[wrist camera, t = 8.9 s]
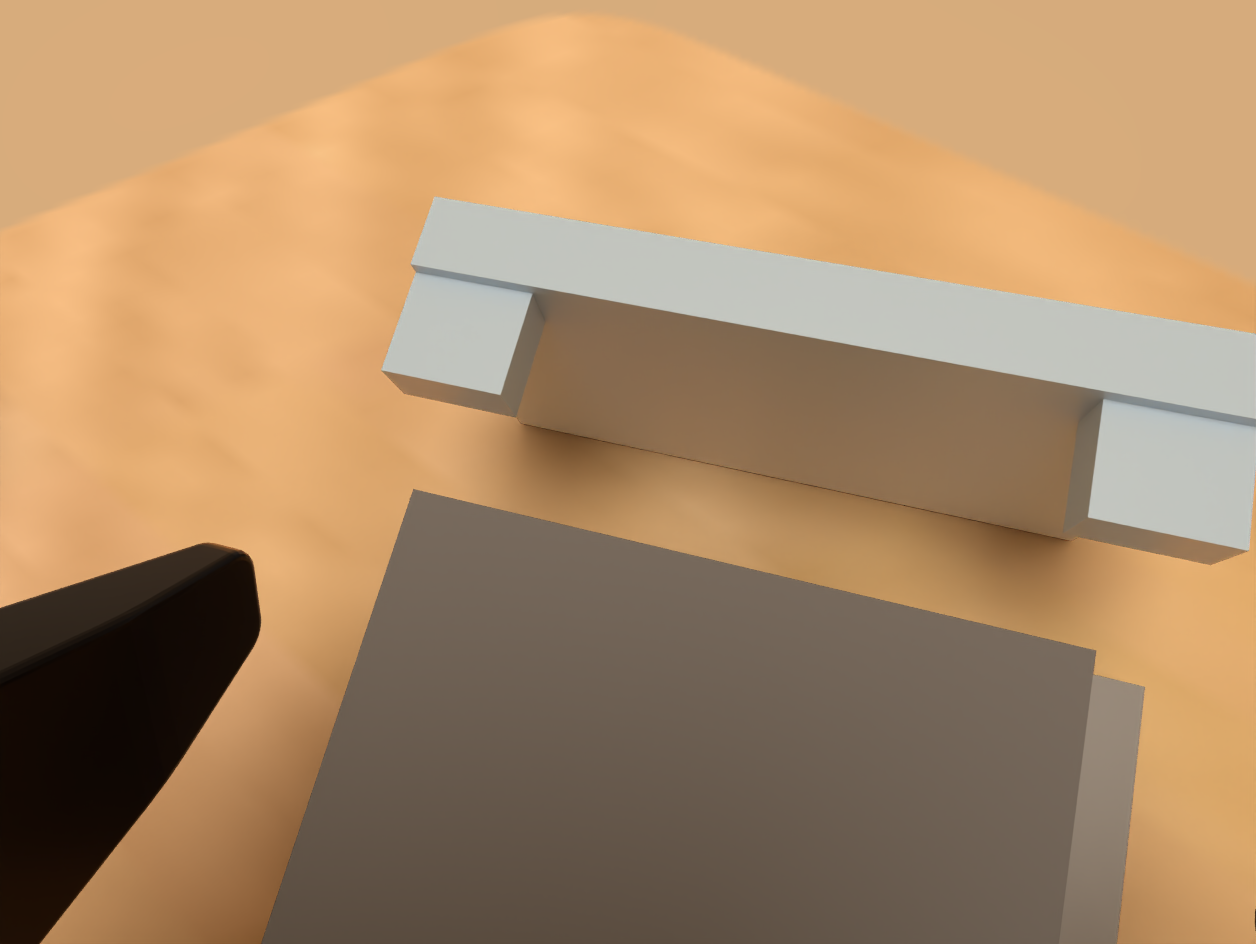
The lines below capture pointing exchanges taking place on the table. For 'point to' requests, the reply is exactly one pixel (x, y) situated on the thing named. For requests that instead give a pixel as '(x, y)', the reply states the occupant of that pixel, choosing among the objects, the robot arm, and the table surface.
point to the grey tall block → (678, 756)
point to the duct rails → (859, 408)
